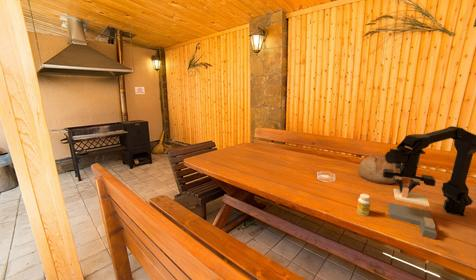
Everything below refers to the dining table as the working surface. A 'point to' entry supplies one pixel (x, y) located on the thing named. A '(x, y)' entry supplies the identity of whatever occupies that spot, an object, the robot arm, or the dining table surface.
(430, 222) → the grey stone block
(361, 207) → the supplement bottle
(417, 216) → the case
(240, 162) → the dining table surface
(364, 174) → the bread
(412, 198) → the cover
